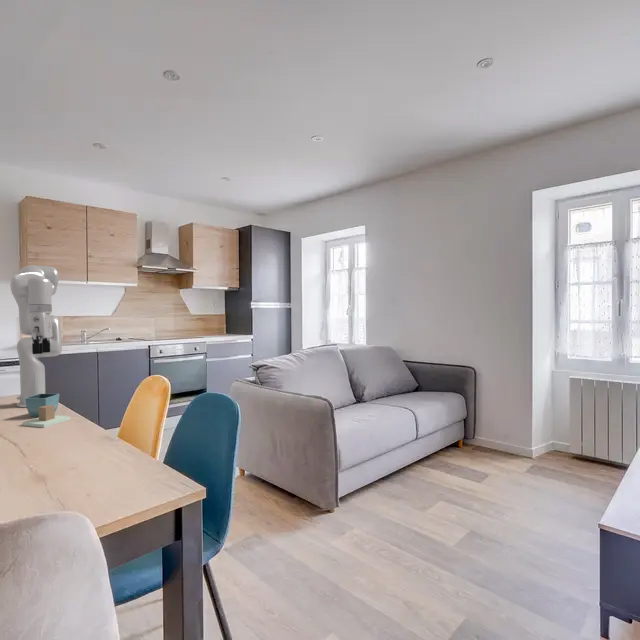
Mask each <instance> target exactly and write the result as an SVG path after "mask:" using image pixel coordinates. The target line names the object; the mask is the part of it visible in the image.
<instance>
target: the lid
mask: <svg viewBox="0 0 640 640" xmlns="http://www.w3.org/2000/svg"><path fill="white" fill-rule="evenodd" d="M38 408H39V417H37V418H33V419H29V420H26V421H22V422H21V425H23V426H24V427H32V426H33V427H32V428H42V427H43V428H44V429H45V428H48V427H51V425H52V426H55V425H58V424H62V423H65V422H67V421H71V419H72V418H71V416H67V415H56V414H55V413H56V411H55V412H54V406H51V405H46V406H42V407H38ZM61 422H62V423H61ZM23 426H22V427H23ZM43 428H42V429H43Z"/></svg>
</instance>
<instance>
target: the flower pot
mask: <svg viewBox="0 0 640 640" xmlns="http://www.w3.org/2000/svg"><path fill="white" fill-rule="evenodd" d="M25 401H26V406H27V407H26V410H27V412H28V414H29V416H31V418H32V417H33V418H34V417H37V418H39V408H38V407H42V406H46V405H51V406H54V412H55V413H56V411H57V409H58V407H59V403H60V402H59V401H60V393H45V394H37V395H34V396H31V397H27V398H25Z"/></svg>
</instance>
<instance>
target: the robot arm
mask: <svg viewBox="0 0 640 640" xmlns="http://www.w3.org/2000/svg"><path fill="white" fill-rule="evenodd" d="M59 277H60V276H59V272H58V270H57V268H55V266H50V265H34V264H33V265H31V264H29V265H26V266H23V267H22V268H20V271H19V273H18V274H17V273H16V274H15V275H13V276H12V277H11V280H10V284H9V285H10V292H11V294H12V296H13V298H14V300H15V303H16V305H17V307H18V317H19V318H18V319H19V330H20V332H21V334H22V335H24V336H31V337H24V338H22V339H19V340H18V342H17V344H16V351H17V355H18V356H17V357H18V361H19V379H20V380H19V381H20V384H19V385H20V387H19V388H20V394H19V396H17V397H16V400H18V401H19V402H17V403H16V407H18V408H27V406H26V401H25V398H27V397H31V396H34V395H37V394H46V370H45V369H46V367H45V365H44V363H43V362H42V361H40V360H39V359H38V358H46V357H48V358H49V357H57V356H59V355H61V354H62V350H63V343H62V330H61V324H60V323H61V322H60V319H59V318H58V316H56V315H54V314H52V313H53V309H52V308H53V306H52V305H53V304H52V296H54V295H55V294H56V292H57V289H58V284H59Z"/></svg>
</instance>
